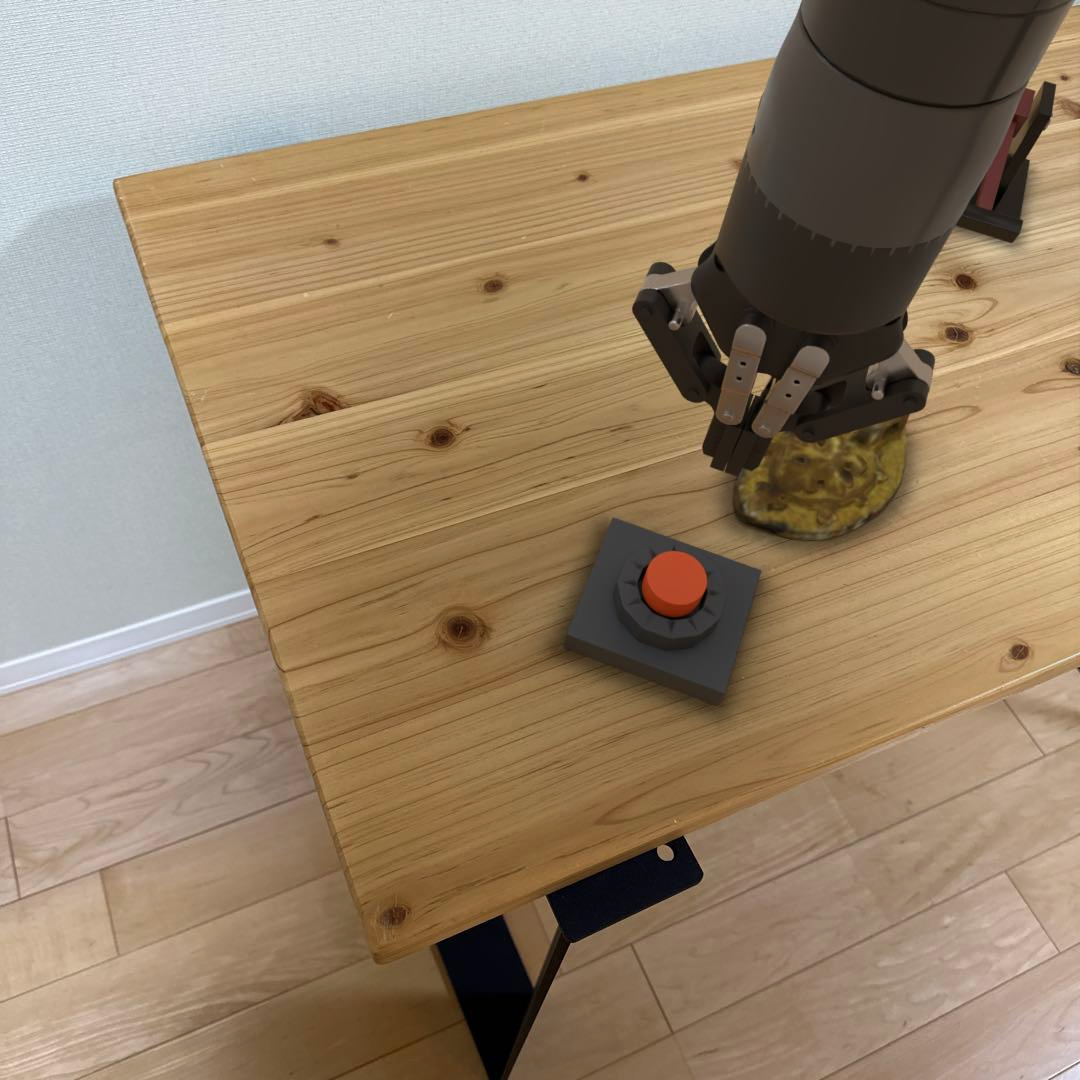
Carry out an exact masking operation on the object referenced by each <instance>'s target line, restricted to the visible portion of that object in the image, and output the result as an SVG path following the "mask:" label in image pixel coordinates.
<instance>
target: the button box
mask: <svg viewBox="0 0 1080 1080" xmlns="http://www.w3.org/2000/svg"><path fill="white" fill-rule="evenodd" d="M668 551H679V552H683V553H686V554H689V555H691V556H692V557H694V558H695V559H696V560H697V561H699V563H700V564H701V565H702V566H703V568H704V570H705V573H706V576H707V587H706V590H705V592H704V594H703V596H702V598H701V600H700V602H699V604H698V606H697V607H696V608H695V610H693V611H692V612H691V613H689V614H687V615H685V616H682V617H667V616H664V615H661V614H659V613H657V612H655V611H654V610H653V609H652V608H651V607H650V606H649V605H648V604H647V602H646V601H645V599H644V597H643V593H642V582H643V579H644V576H645V574H646V571H647V568H648V566H649V564H650V562H651V561H652V560H653V559H654V558H655V557H656V556H658V555H659V554H661V553H664V552H668ZM761 575H762V570H761V569H759V568H756V567H753V566H750V565H747V564H744V563H742V562H739V561H736V560H734V559H731V558H728V557H726V556H722V555H720V554H717V553H714V552H711V551H709V550H706V549H703V548H701V547H697V546H694V545H692V544H689V543H686V542H684V541H680V540H678V539H676V538H672V537H669V536H667V535H664V534H661V533H659V532H656V531H653V530H650V529H647V528H644V527H641V526H639V525H636V524H633V523H631V522H628V521H625V520H622V519H619V518H618V517H612V518H611V520H610V523H609V525H608V528H607V530H606V533H605V536H604V538H603V541H602V543H601V545H600V547H599V551H598V553H597V556H596V558H595V560H594V563H593V566H592V568H591V570H590V573H589V577H588V578H587V580H586V583H585V586H584V589H583V591H582V592H581V593H582V594H581V595H580V599H579V600H578V603H577V606H576V607H575V611H574V613H573V616H572V618H571V621H570V622H569V623H570V624H569V626H568V629H567V631H566V633H565V637H564V641H563V644H562V648H563V649H565V650H566V651H569V652H572V653H575V654H577V655H580V656H583V657H585V658H588V659H591V660H592V661H596V662H598V663H602V664H603V665H606V666H608V667H612V668H614V669H617V670H620V671H622V672H625V673H628V674H630V675H633V676H635V677H638V678H641V679H643V680H646V681H649V682H651V683H655V684H656V685H660V686H662V687H665V688H667V689H671V690H673V691H675V692H678V693H681V694H684V695H686V696H688V697H692V698H694V699H697V700H699V701H702V702H703V703H704V702H705V703H707V704H710V705H713V706H715V707H718V706H719V704H721V701H722V700H723V698H724V697H725V696H726V694H727V691H728V687H729V683H730V681H731V678H732V674H733V671H734V666H735V663H736V660H737V656H738V653H739V650H740V647H741V643H742V639H743V636H744V633H745V630H746V625H747V622H748V619H749V615H750V612H751V609H752V605H753V602H754V598H755V596H756V595H755V594H756V592H757V587H758V585H759V581H760V578H761Z"/></svg>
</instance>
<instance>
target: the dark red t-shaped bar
mask: <svg viewBox="0 0 1080 1080" xmlns="http://www.w3.org/2000/svg"><path fill="white" fill-rule="evenodd" d="M1035 96H1036V90H1035V89H1032V88H1028V87H1026V88H1025V90H1024V92H1023V94H1022V96H1021V99H1020V101H1019V104H1018V106H1017V108H1016V111H1015V114H1014V116H1013V119H1012V121H1011V124H1010V126H1009V129H1008V131H1007V133H1006V136H1005V138H1004V140H1003V142H1002V144H1001V146H1000V148H999V150H998V152H997V154H996V156H995V158H994V160H993V162H992V164H991V165H990V167H989V169H988V170H987V172H986V174H985V176H984V177H983V180H982V184H981V187H980V190H979V194H978V197H977V201H976V204H975V205H972V204H969V203H968V205H967V207H966V208H965V210H964V212H963V214H962V215H961V217H960V219H959V220H958V222H957V224H956V226H955V227H958V228H961V229H964V230H967V231H970V232H973V233H976V234H981V235H984V236H987V237H990V238H994V239H996V240H999V241H1003V242H1005V243H1009V244H1013V243H1015V242H1016V240H1017V238H1018V237H1019V235H1020V234H1021V232H1022V228H1023V224H1024V220H1023V219H1021V218H1020V219H1017V218H1014V217H1011V216H1008V215H1004V214H1001V213H998V212H995V211H992V208H993V204H994V201H995V197H996V194H997V190H998V187H999V183H1000V180H1001V176H1002V173H1003V169H1004V166H1005V162H1006V159H1007V155H1008V152H1009V148H1010V145H1011V141H1012V138H1015V137H1016V135H1017V134H1018V132H1019V131H1020V129H1021V128H1022V126H1023V125H1024V123H1025V122H1026V120H1027V118H1028V116H1029V113H1030V109H1031V106H1032V102H1033V100H1034V98H1035Z"/></svg>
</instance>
